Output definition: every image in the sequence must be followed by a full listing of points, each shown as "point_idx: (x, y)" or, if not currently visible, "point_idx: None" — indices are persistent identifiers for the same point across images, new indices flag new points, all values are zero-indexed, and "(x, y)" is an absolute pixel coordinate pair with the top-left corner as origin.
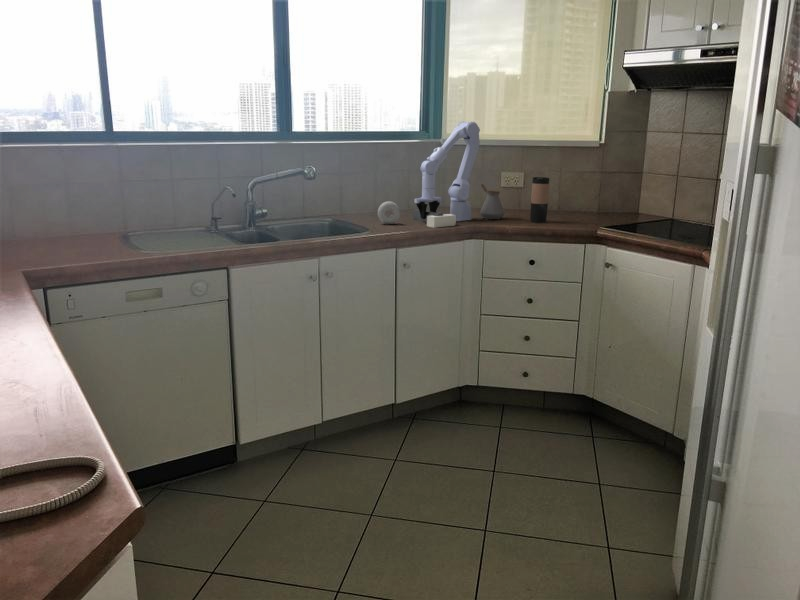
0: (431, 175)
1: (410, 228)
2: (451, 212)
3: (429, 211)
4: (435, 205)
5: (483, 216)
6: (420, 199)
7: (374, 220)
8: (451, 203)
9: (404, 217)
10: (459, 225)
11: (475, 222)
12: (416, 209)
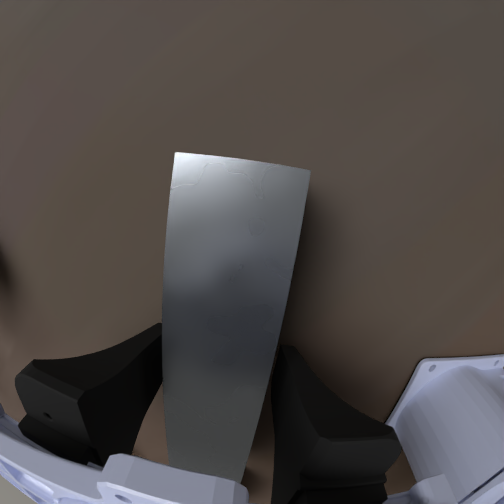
0: None
1: (8, 383)
2: (422, 438)
3: (198, 428)
4: (273, 497)
5: None
6: (13, 478)
7: (12, 49)
8: (451, 486)
9: (278, 7)
10: (249, 494)
11: (391, 475)
12: (214, 188)
